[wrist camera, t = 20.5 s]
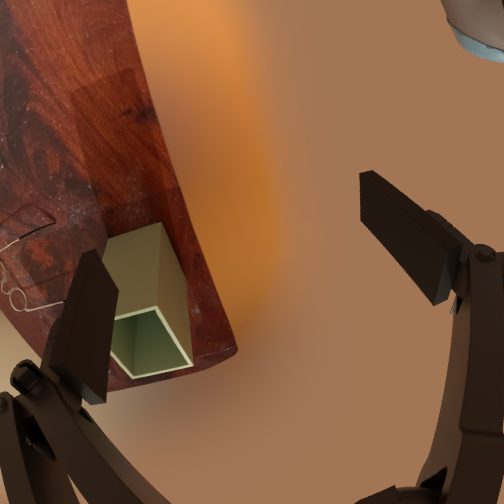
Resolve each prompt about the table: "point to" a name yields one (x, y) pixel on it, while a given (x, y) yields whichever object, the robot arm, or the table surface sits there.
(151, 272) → the bin
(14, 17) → the table surface
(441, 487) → the robot arm
